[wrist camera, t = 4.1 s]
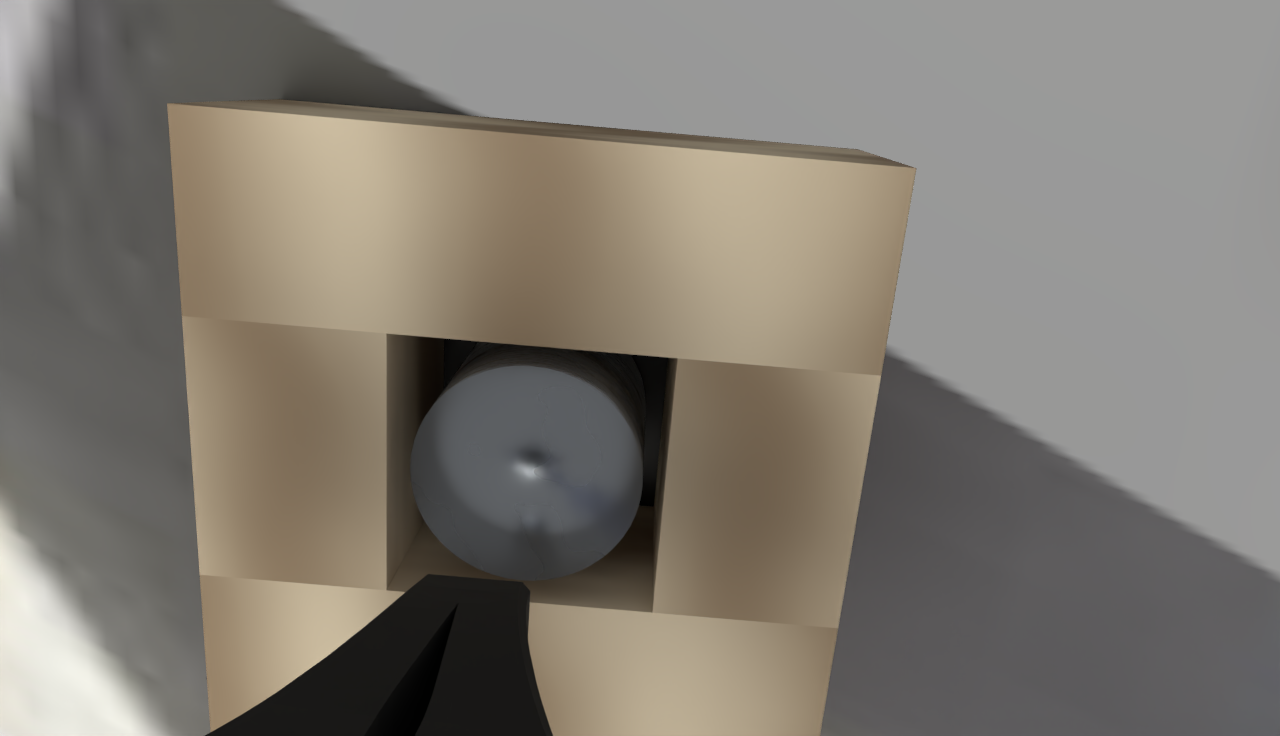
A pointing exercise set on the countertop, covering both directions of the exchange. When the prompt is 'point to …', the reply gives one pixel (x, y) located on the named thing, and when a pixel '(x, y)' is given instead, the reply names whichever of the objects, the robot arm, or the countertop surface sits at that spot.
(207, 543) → the socket block
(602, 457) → the peg
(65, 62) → the countertop surface
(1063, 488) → the countertop surface
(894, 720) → the countertop surface
